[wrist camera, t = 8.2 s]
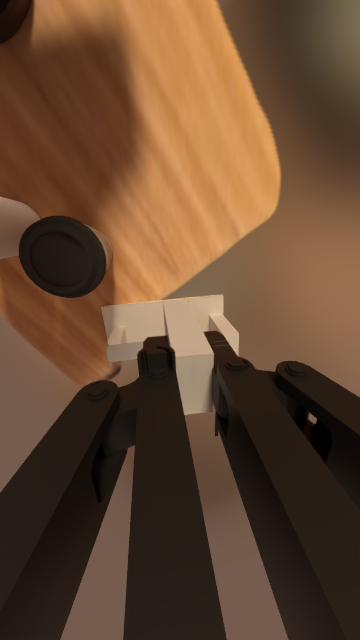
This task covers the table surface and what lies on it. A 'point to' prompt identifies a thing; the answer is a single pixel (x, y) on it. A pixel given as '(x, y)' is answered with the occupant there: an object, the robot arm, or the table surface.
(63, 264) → the coffee cup
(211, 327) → the rail
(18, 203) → the milk bottle
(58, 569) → the robot arm
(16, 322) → the table surface
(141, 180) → the table surface
